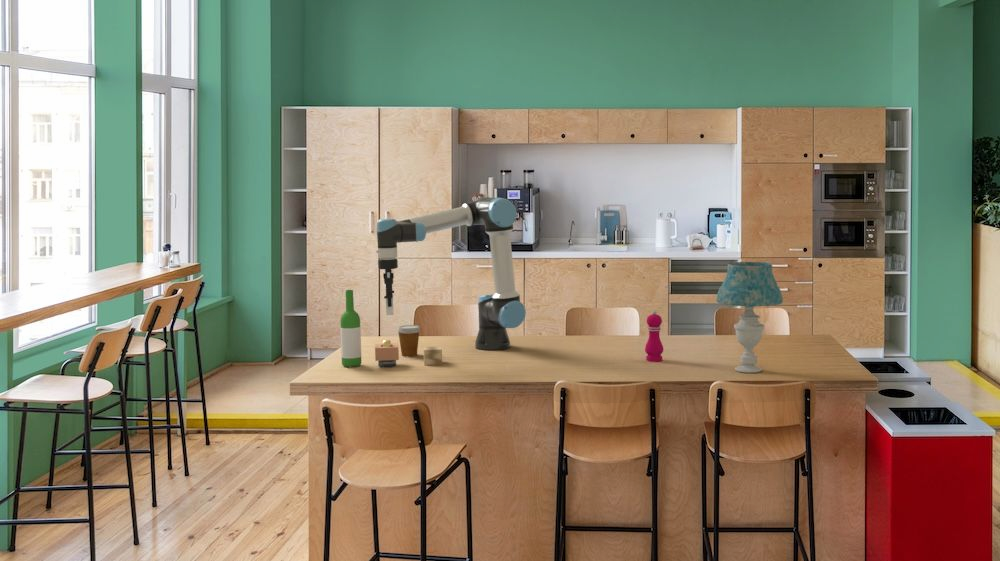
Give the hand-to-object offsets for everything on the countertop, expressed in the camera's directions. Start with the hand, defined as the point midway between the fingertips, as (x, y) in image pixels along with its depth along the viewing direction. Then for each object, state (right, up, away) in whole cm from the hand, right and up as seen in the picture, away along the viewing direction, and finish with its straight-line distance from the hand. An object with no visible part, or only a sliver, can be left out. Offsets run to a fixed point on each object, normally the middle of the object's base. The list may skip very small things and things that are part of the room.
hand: (390, 312), depth 388 cm
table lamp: (+136, -21, -20) cm, 139 cm away
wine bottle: (-15, -21, +2) cm, 26 cm away
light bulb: (-1, -21, +1) cm, 21 cm away
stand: (+17, -20, +5) cm, 27 cm away
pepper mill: (+104, -19, +3) cm, 106 cm away
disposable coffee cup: (+6, -19, +23) cm, 30 cm away
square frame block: (-1, -18, 0) cm, 18 cm away
